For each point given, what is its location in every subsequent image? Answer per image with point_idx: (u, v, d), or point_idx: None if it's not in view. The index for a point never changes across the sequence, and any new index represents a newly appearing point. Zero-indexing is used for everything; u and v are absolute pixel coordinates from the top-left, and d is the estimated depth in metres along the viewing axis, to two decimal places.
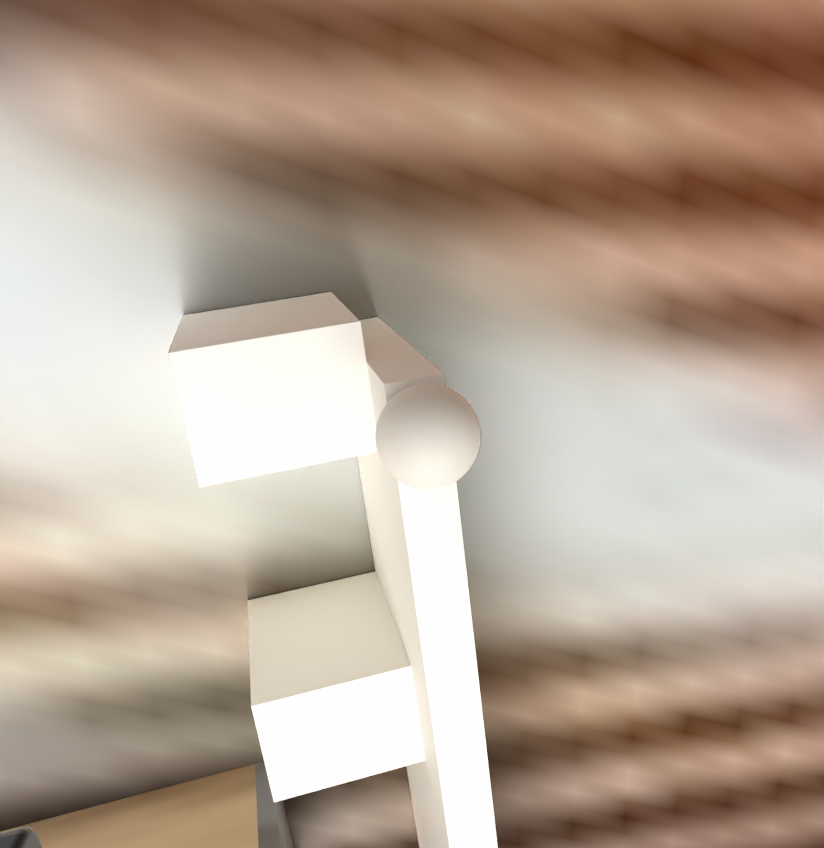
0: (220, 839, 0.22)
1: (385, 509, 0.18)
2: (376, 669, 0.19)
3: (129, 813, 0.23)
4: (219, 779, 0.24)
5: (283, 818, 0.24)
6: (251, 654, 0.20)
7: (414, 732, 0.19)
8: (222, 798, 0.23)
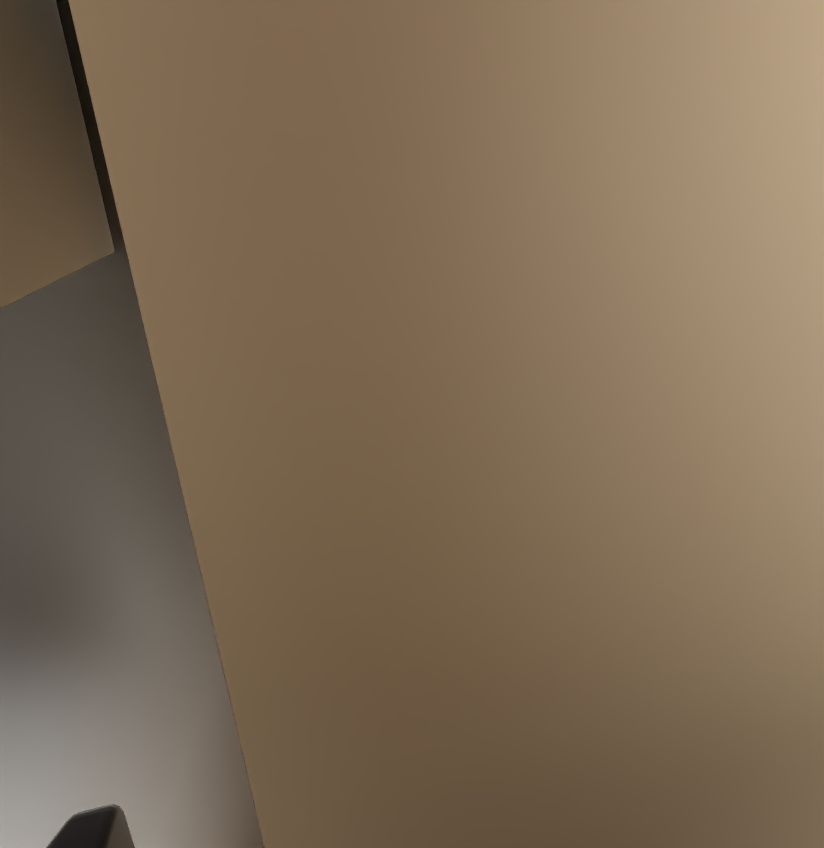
0: None
1: None
2: None
3: None
4: None
5: None
6: None
7: None
8: None
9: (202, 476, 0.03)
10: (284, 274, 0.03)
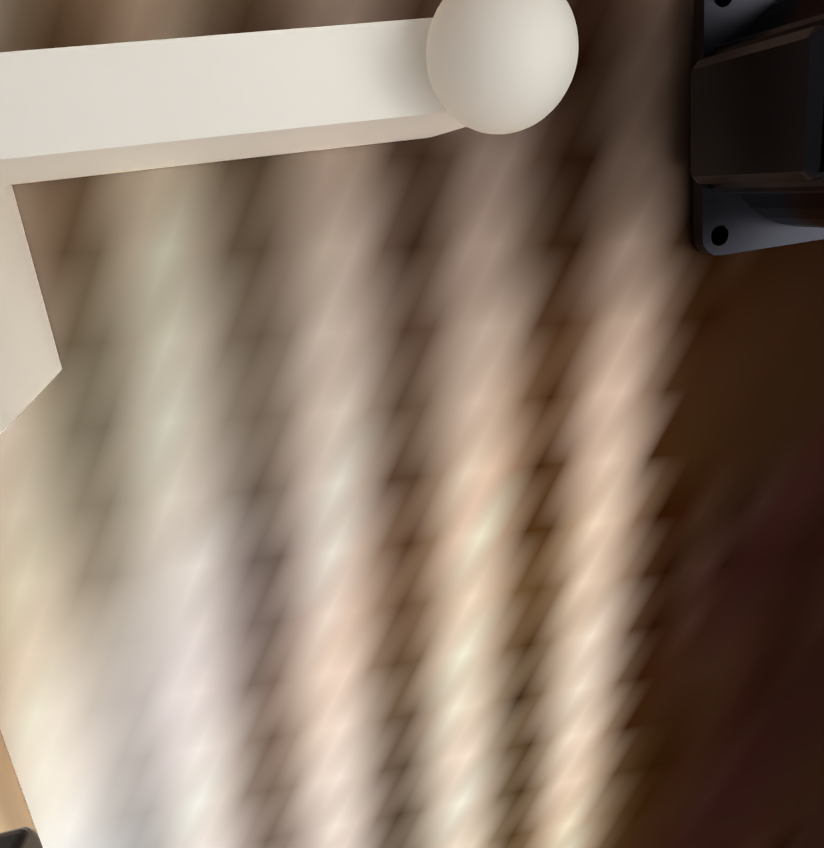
0: None
1: None
2: None
3: None
4: None
5: None
6: None
7: None
8: None
9: None
10: None
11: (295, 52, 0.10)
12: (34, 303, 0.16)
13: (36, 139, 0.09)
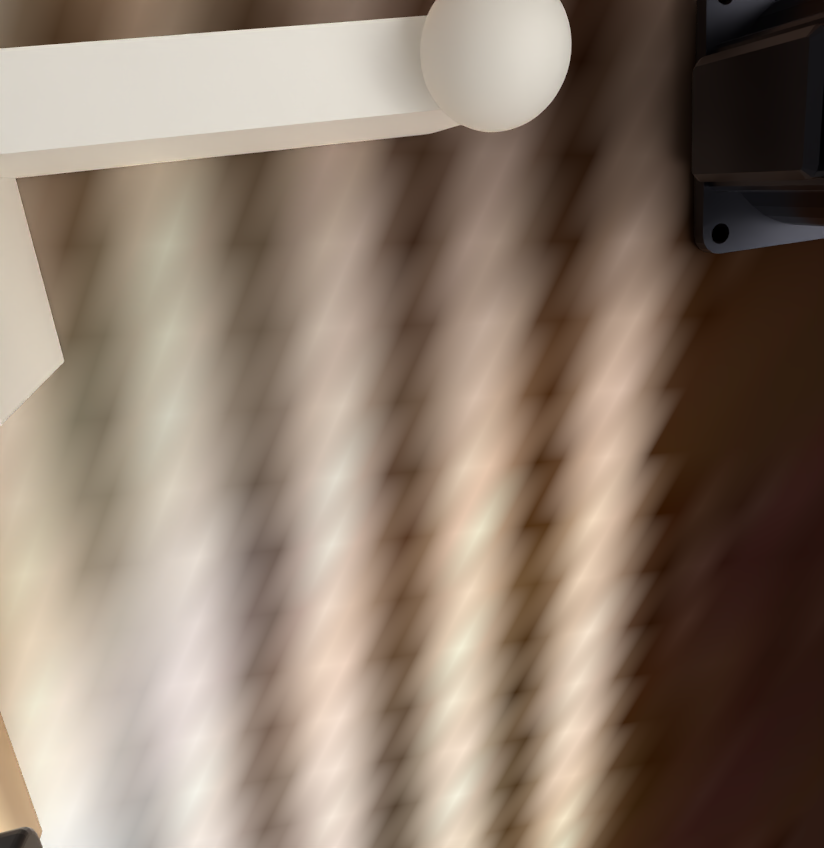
0: None
1: None
2: None
3: None
4: None
5: None
6: None
7: None
8: None
9: None
10: None
11: (290, 49, 0.10)
12: (36, 296, 0.16)
13: (35, 135, 0.10)
